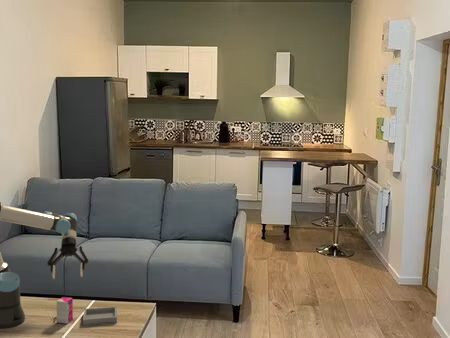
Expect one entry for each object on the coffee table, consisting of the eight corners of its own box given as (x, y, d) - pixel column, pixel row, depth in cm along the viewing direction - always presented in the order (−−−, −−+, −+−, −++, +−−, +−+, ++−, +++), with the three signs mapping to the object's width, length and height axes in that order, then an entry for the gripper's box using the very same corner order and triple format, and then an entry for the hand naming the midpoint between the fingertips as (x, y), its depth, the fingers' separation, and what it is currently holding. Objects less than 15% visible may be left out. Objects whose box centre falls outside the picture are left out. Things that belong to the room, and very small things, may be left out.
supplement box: (67, 324, 234) (66, 302, 233) (56, 323, 236) (55, 301, 234) (73, 319, 240) (72, 297, 239) (62, 318, 241) (61, 296, 240)
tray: (83, 325, 233) (82, 319, 233) (84, 314, 246) (84, 308, 246) (116, 322, 237) (116, 317, 237) (116, 311, 249) (116, 306, 249)
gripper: (93, 241, 264) (93, 277, 252) (45, 244, 259) (42, 281, 247) (92, 235, 258) (92, 271, 246) (43, 238, 253) (40, 275, 241)
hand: (67, 276), depth 246 cm, fingers open, 13 cm apart
